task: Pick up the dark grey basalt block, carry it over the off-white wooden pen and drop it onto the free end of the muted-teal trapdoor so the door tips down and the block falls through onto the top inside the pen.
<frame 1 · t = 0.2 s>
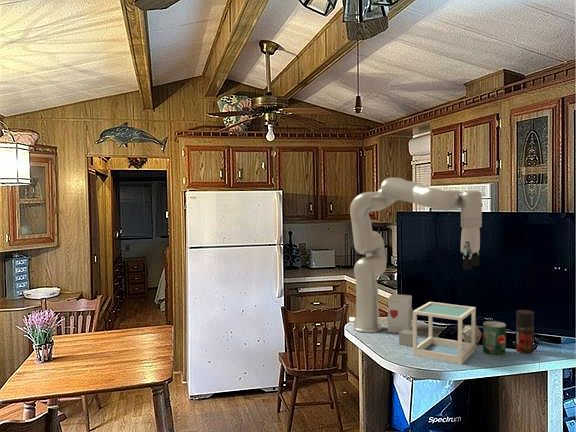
hand: (471, 267, 197), 31 cm above the table, fingers open, 9 cm apart
canned tomato: (494, 353, 190), on the table
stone: (407, 344, 202), on the table
supplement box: (399, 331, 221), on the table
game die: (471, 344, 201), on the table
trapdoor: (443, 311, 191), point 16 cm above the table, hinge at -1.0°
frame: (444, 352, 191), on the table
deodorant: (524, 351, 191), on the table
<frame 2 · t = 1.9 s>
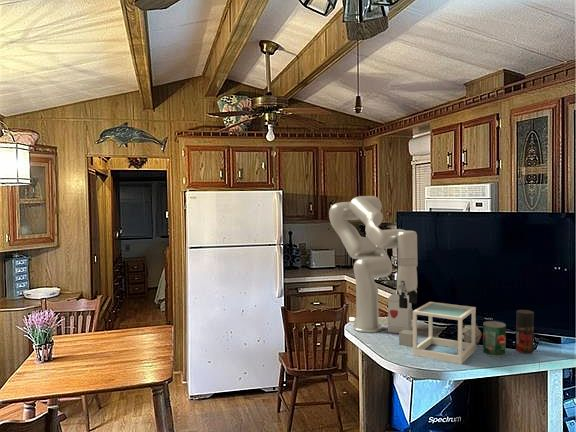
hand: (408, 305, 201), 16 cm above the table, fingers open, 9 cm apart
trapdoor: (443, 311, 191), point 16 cm above the table, hinge at -1.6°
everything else where it was.
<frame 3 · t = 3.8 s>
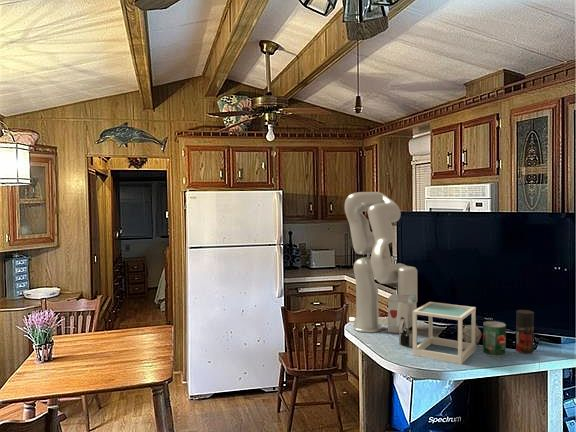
hand: (407, 343, 202), 0 cm above the table, fingers closed on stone, 5 cm apart
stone: (407, 344, 202), on the table, touching gripper
everything else where it was.
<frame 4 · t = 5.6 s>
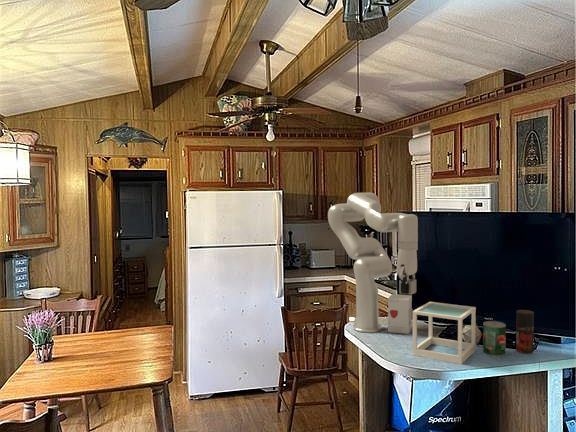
hand: (407, 291, 201), 21 cm above the table, fingers closed on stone, 5 cm apart
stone: (407, 292, 201), point 21 cm above the table, touching gripper
everything else where it was.
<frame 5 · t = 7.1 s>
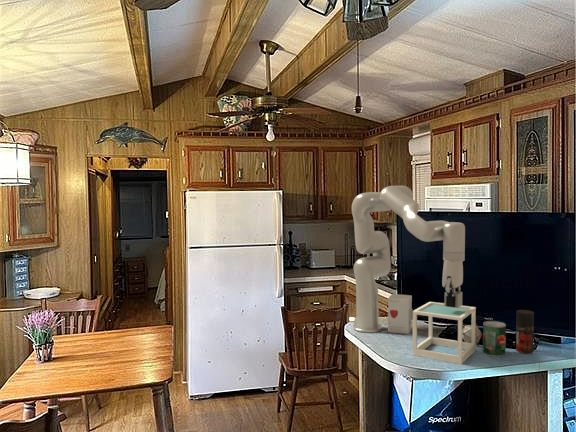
hand: (453, 304, 188), 19 cm above the table, fingers closed on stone, 5 cm apart
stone: (453, 305, 188), point 18 cm above the table, touching gripper
everything else where it was.
when the fingers open (19 cm above the table, at t = 7.3 s): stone drops 16 cm and tips over, point 2 cm above the table.
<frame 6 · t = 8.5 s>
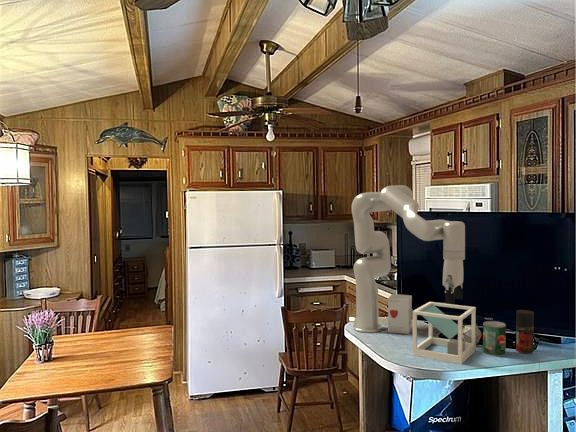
hand: (453, 301, 188), 20 cm above the table, fingers open, 9 cm apart
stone: (449, 347, 190), point 2 cm above the table, tilted 90°
trapdoor: (440, 320, 191), point 12 cm above the table, hinge at -35.0°
everything else where it was.
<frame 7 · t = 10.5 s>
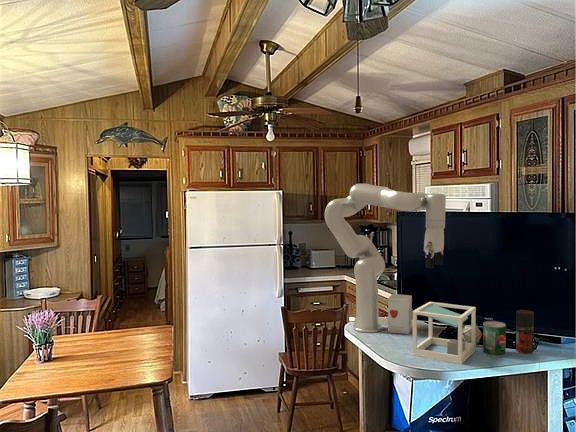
hand: (434, 266, 207), 30 cm above the table, fingers open, 9 cm apart
trapdoor: (443, 315, 191), point 14 cm above the table, hinge at -13.6°
everything else where it was.
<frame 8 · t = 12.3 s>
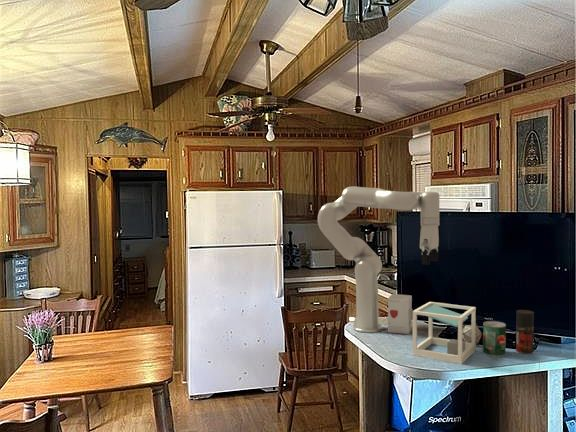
hand: (430, 262, 213), 30 cm above the table, fingers open, 9 cm apart
trapdoor: (443, 315, 191), point 14 cm above the table, hinge at -13.0°
everything else where it was.
at the end: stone point 2.4 cm above the table; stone inside the target area (1.9 cm from its centre), point 2.4 cm above the table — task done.
